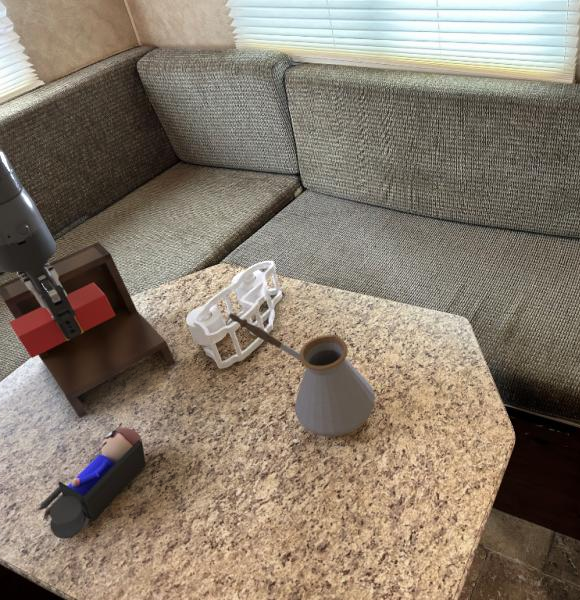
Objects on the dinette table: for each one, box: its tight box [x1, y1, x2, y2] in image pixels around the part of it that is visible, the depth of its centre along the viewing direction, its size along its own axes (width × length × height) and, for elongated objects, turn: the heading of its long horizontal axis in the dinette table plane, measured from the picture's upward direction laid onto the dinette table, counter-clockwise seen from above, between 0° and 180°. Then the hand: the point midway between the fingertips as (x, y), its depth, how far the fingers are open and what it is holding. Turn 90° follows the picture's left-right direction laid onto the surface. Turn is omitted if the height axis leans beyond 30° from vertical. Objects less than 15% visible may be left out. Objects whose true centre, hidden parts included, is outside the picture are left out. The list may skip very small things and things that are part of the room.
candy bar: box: [8, 283, 115, 359], centre depth 86 cm, size 12×5×4 cm, turn 132°
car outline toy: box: [185, 259, 283, 370], centre depth 103 cm, size 20×11×7 cm, turn 150°
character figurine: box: [39, 427, 147, 540], centre depth 78 cm, size 8×7×15 cm
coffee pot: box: [225, 311, 376, 438], centre depth 85 cm, size 21×12×15 cm, turn 64°
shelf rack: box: [0, 241, 176, 419], centre depth 95 cm, size 16×16×17 cm
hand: (67, 327), depth 87 cm, fingers closed on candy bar, 4 cm apart
